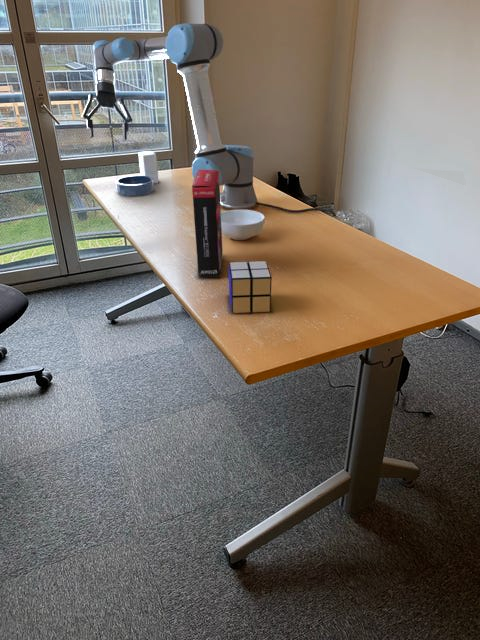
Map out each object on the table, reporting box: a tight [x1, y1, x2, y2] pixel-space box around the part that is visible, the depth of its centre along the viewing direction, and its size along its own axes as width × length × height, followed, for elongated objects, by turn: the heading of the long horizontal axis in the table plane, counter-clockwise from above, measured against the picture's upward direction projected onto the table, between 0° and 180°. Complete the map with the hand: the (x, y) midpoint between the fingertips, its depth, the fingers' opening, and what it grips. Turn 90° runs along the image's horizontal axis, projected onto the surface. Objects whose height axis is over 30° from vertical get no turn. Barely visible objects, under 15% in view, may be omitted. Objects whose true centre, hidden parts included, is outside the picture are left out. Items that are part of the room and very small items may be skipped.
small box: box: [137, 150, 160, 184], centre depth 232 cm, size 8×6×13 cm
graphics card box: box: [191, 170, 224, 279], centre depth 146 cm, size 17×7×27 cm, turn 179°
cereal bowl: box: [221, 209, 266, 241], centre depth 173 cm, size 17×17×7 cm
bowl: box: [115, 174, 155, 197], centre depth 220 cm, size 16×16×5 cm
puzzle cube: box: [228, 260, 273, 315], centre depth 130 cm, size 10×10×10 cm
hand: (108, 138), depth 206 cm, fingers open, 13 cm apart
